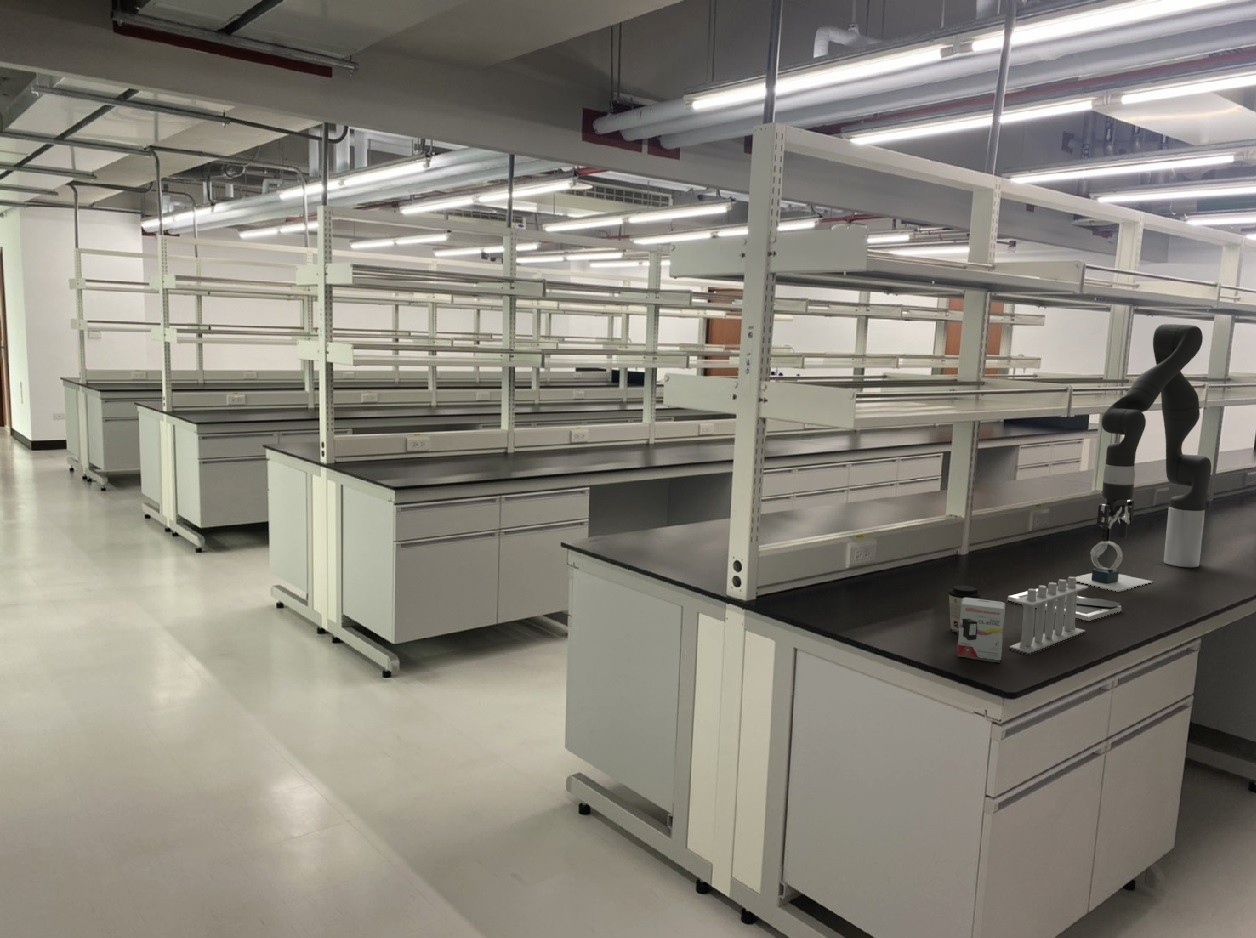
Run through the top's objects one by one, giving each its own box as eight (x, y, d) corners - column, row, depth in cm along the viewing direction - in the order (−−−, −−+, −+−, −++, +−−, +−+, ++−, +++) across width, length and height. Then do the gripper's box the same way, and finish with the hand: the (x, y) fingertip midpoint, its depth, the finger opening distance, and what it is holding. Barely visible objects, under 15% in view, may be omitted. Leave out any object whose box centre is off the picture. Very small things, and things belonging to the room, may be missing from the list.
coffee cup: (952, 635, 201) (955, 592, 200) (940, 626, 208) (943, 584, 207) (983, 635, 202) (986, 592, 200) (970, 626, 209) (972, 584, 207)
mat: (1102, 572, 261) (1102, 570, 261) (1152, 583, 250) (1152, 581, 250) (1067, 580, 251) (1068, 578, 251) (1118, 592, 240) (1118, 590, 240)
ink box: (956, 657, 187) (959, 602, 186) (957, 650, 192) (961, 596, 190) (1000, 664, 184) (1004, 608, 182) (1001, 656, 188) (1005, 601, 187)
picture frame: (1120, 614, 222) (1040, 595, 239) (1121, 603, 222) (1041, 584, 238) (1088, 625, 213) (1007, 604, 230) (1089, 613, 213) (1008, 593, 229)
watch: (1095, 576, 254) (1099, 538, 253) (1124, 582, 248) (1127, 543, 246) (1084, 578, 251) (1087, 540, 250) (1112, 585, 245) (1116, 545, 243)
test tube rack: (1065, 628, 208) (1070, 572, 206) (1084, 633, 205) (1089, 577, 203) (1008, 649, 193) (1013, 589, 191) (1028, 655, 189) (1033, 594, 188)
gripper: (1118, 485, 240) (1113, 545, 242) (1146, 481, 248) (1140, 538, 250) (1090, 481, 246) (1086, 539, 248) (1118, 477, 254) (1114, 533, 256)
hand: (1113, 539), depth 249 cm, fingers open, 8 cm apart
